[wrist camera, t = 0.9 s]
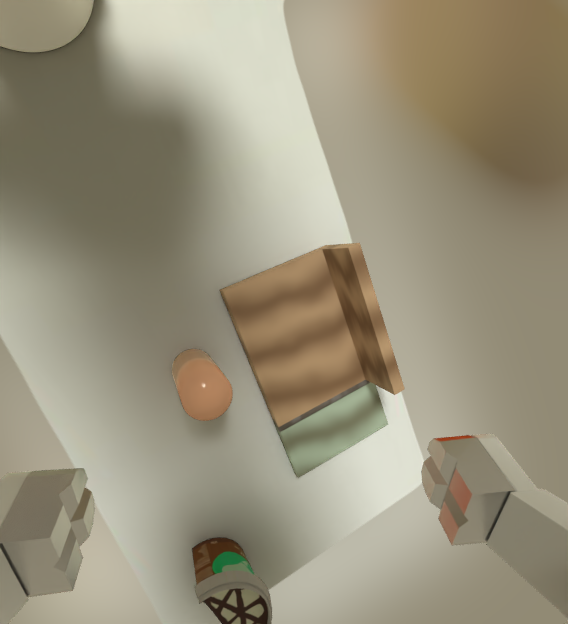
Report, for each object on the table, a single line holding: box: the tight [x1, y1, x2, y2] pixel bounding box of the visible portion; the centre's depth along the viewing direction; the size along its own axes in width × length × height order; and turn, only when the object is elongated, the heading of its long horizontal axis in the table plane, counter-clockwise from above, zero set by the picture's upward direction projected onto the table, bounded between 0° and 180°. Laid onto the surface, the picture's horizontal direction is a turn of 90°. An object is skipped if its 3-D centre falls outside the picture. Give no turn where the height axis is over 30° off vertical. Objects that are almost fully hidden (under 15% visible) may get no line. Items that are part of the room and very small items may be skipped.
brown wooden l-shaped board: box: [220, 243, 404, 478], centre depth 52 cm, size 29×16×9 cm, turn 21°
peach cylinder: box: [172, 349, 233, 421], centre depth 46 cm, size 5×5×11 cm
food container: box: [192, 538, 272, 624], centre depth 51 cm, size 12×6×10 cm, turn 31°
